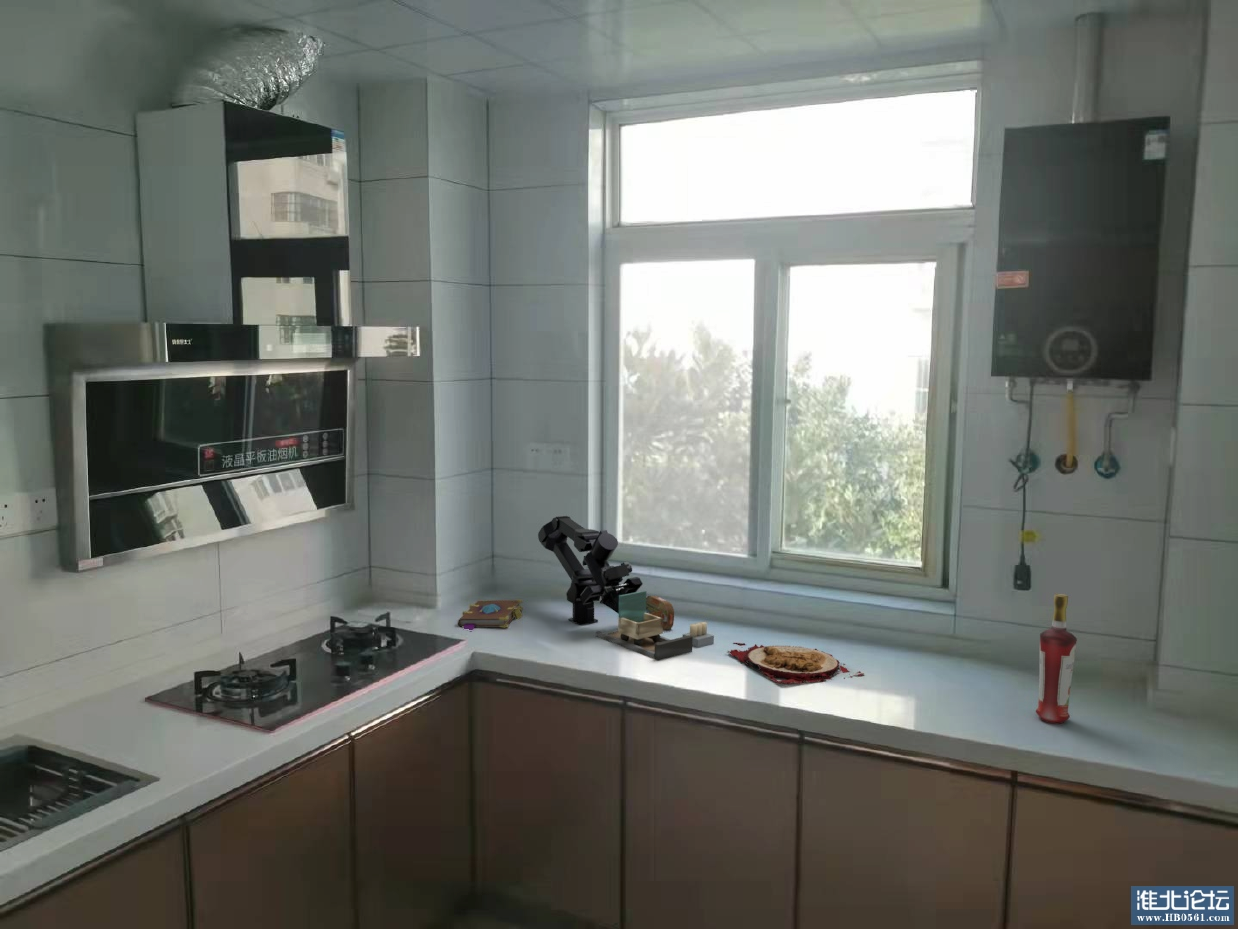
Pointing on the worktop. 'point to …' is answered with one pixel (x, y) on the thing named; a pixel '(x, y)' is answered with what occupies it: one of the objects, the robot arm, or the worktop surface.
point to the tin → (661, 610)
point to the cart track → (652, 645)
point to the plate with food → (791, 663)
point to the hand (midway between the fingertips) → (624, 616)
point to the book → (491, 614)
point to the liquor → (1056, 666)
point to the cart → (637, 619)
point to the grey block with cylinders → (700, 635)
